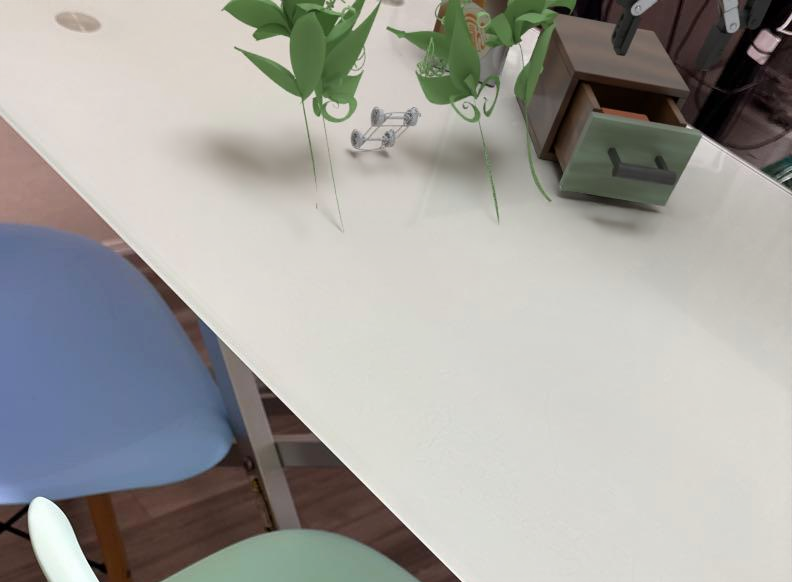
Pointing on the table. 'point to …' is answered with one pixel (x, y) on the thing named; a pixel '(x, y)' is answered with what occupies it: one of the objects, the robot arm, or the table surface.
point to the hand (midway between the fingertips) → (660, 59)
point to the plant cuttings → (341, 46)
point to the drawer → (623, 144)
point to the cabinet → (593, 73)
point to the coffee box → (479, 35)
